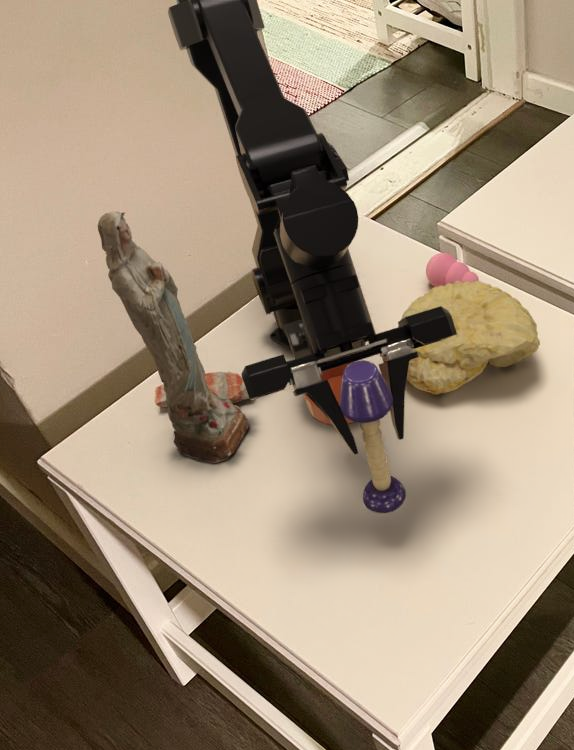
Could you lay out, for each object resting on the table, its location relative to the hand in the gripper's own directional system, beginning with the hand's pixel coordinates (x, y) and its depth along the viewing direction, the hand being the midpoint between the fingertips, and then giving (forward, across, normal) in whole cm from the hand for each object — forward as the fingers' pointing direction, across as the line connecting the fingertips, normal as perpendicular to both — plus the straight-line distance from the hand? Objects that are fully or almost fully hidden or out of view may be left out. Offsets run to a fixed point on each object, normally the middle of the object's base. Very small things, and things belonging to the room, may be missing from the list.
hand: (378, 446), depth 81 cm
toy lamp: (+5, 0, -7) cm, 9 cm away
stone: (-8, +15, -29) cm, 33 cm away
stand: (-5, 0, -26) cm, 27 cm away
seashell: (-4, -16, -25) cm, 30 cm away
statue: (-5, +15, -26) cm, 31 cm away
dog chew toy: (-18, -17, -36) cm, 44 cm away
